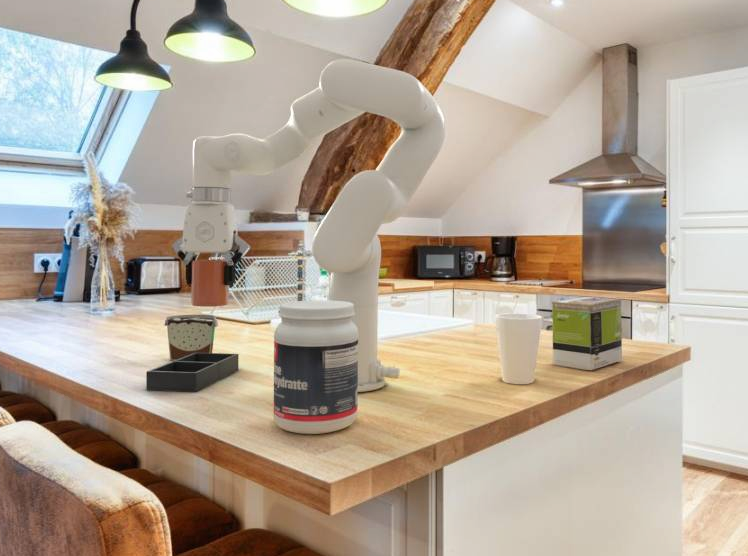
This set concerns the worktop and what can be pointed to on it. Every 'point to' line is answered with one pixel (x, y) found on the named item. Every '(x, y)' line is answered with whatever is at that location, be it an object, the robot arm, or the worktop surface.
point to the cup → (209, 283)
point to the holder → (191, 372)
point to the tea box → (587, 332)
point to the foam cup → (518, 346)
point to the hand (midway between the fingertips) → (210, 283)
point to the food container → (190, 334)
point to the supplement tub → (315, 367)
